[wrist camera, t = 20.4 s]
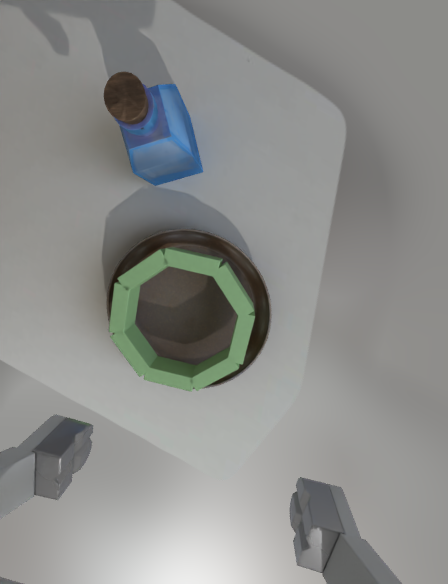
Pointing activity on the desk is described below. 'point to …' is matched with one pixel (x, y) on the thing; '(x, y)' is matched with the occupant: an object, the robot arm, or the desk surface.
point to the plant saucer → (195, 301)
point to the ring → (138, 346)
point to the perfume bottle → (153, 128)
